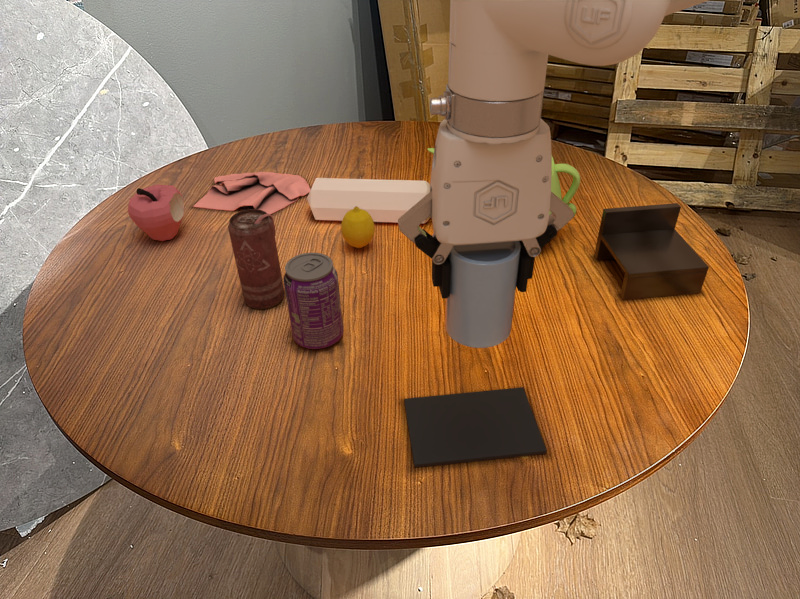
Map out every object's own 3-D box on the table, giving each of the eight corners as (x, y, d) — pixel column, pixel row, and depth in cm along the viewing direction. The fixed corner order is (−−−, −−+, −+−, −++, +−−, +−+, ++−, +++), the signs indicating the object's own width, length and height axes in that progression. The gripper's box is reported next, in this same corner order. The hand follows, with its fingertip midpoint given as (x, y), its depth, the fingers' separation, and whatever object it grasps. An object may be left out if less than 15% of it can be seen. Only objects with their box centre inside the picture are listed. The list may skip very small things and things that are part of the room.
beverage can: (316, 314, 91) (307, 244, 83) (354, 331, 87) (347, 260, 80) (282, 340, 86) (269, 269, 79) (321, 360, 83) (311, 288, 75)
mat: (522, 390, 77) (523, 386, 77) (546, 454, 69) (547, 450, 69) (404, 401, 76) (404, 398, 76) (414, 468, 68) (414, 464, 68)
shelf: (664, 250, 102) (677, 202, 96) (700, 293, 92) (717, 243, 87) (593, 256, 101) (603, 208, 96) (622, 300, 91) (635, 250, 86)
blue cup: (502, 303, 67) (510, 222, 60) (518, 345, 61) (529, 261, 55) (440, 308, 66) (442, 227, 60) (451, 351, 61) (454, 267, 55)
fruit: (344, 258, 102) (340, 216, 97) (341, 241, 106) (337, 199, 102) (377, 255, 103) (375, 213, 98) (373, 238, 107) (371, 196, 102)
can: (293, 300, 93) (280, 219, 85) (254, 315, 91) (236, 234, 82) (276, 281, 97) (262, 202, 89) (238, 295, 95) (220, 215, 86)
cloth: (327, 192, 121) (325, 181, 119) (228, 233, 109) (225, 221, 108) (270, 160, 133) (268, 150, 132) (176, 194, 122) (173, 183, 120)
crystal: (439, 183, 114) (312, 179, 117) (437, 180, 107) (302, 177, 110) (437, 223, 115) (312, 219, 118) (436, 223, 108) (302, 219, 111)
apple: (173, 253, 105) (158, 200, 99) (128, 247, 106) (110, 196, 100) (200, 224, 112) (187, 174, 106) (157, 220, 114) (142, 170, 108)
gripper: (391, 133, 46) (397, 318, 57) (616, 119, 47) (580, 303, 58) (382, 98, 52) (389, 272, 63) (582, 87, 53) (555, 259, 64)
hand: (481, 285), depth 60 cm, fingers closed on blue cup, 6 cm apart
